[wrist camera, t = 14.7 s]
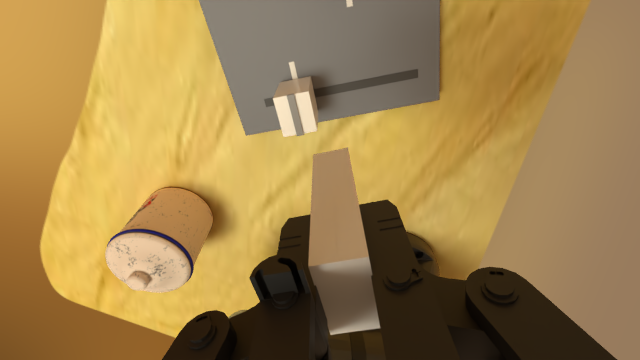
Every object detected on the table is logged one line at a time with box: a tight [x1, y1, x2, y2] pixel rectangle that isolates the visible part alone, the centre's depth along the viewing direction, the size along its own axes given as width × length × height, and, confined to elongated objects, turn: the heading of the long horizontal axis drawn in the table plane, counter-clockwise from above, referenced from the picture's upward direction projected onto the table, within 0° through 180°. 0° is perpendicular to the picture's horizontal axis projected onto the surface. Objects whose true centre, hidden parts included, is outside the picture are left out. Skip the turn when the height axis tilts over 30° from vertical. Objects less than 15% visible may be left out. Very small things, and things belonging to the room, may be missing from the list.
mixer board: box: [199, 0, 440, 136], centre depth 28 cm, size 16×20×2 cm
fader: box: [273, 76, 318, 137], centre depth 28 cm, size 4×3×5 cm
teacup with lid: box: [105, 188, 213, 292], centre depth 37 cm, size 12×9×12 cm
